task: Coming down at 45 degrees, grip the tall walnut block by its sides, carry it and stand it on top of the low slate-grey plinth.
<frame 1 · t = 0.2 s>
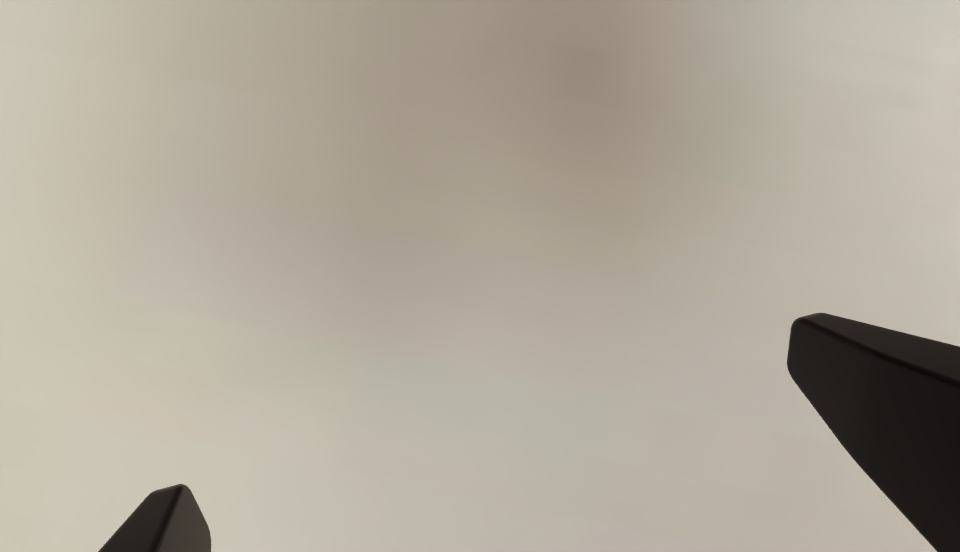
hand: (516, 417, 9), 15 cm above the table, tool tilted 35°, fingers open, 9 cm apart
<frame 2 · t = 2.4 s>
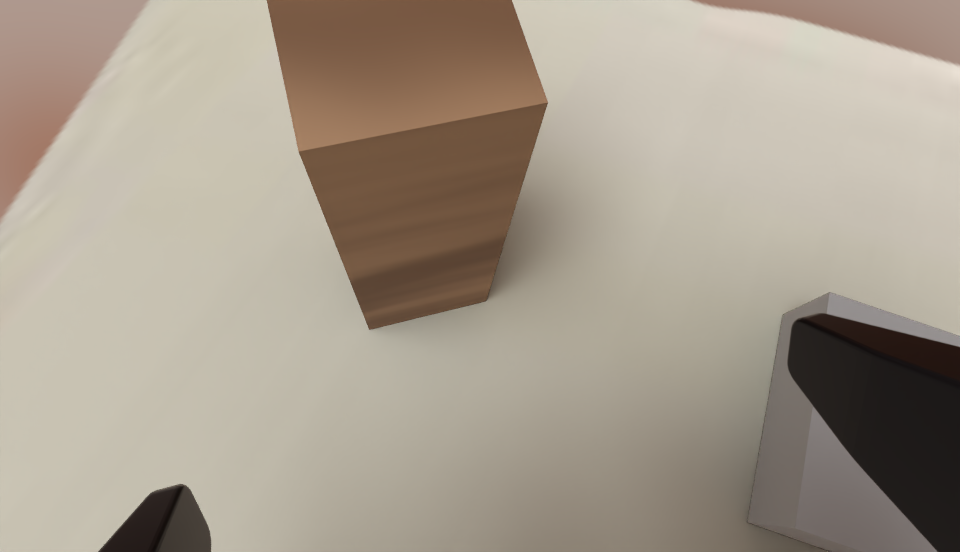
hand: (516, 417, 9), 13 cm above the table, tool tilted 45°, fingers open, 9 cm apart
plinth: (869, 448, 23), on the table
walnut block: (414, 260, 24), on the table
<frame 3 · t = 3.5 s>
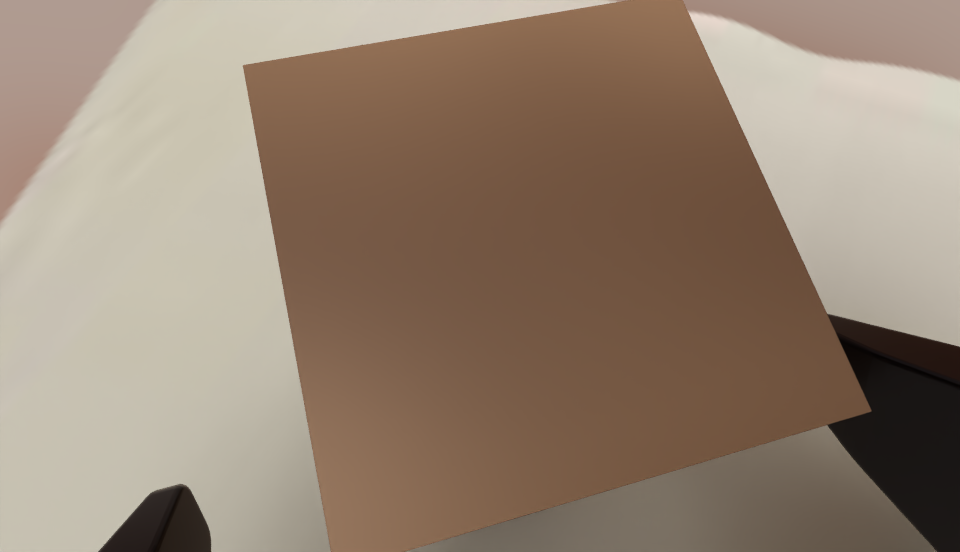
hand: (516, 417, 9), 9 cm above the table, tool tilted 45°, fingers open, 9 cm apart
walnut block: (464, 409, 18), on the table
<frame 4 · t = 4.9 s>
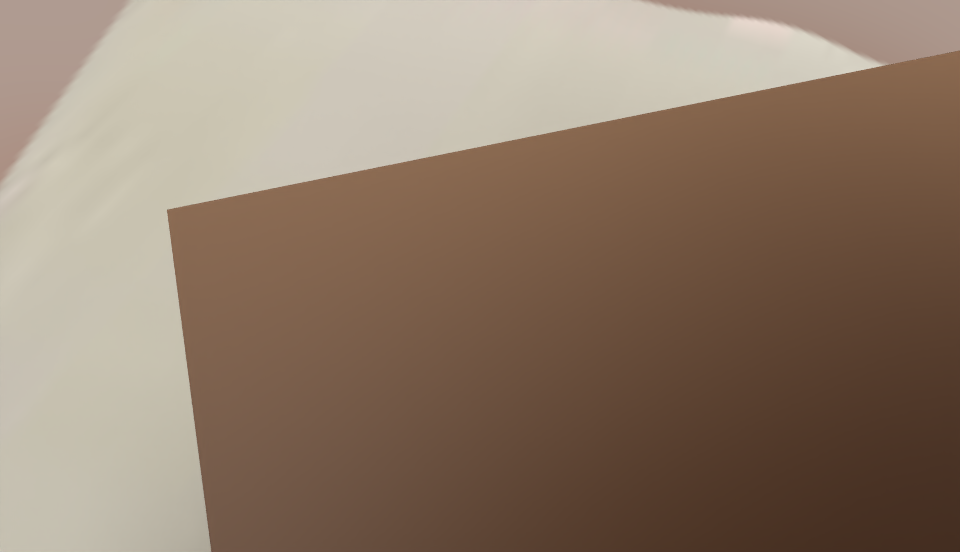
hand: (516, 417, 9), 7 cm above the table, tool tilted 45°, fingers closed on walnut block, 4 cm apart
walnut block: (495, 503, 15), on the table, touching gripper
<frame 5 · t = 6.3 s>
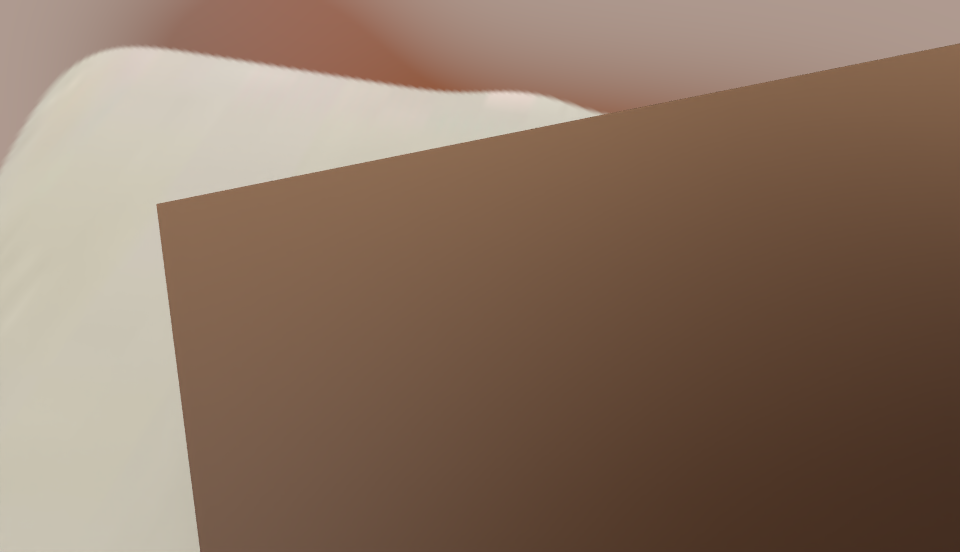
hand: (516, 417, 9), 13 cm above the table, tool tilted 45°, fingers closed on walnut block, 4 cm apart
walnut block: (493, 501, 15), point 7 cm above the table, touching gripper
when the fingers open (10 cm above the table, at t = 8.2 s): walnut block stays where it is, resting on plinth.
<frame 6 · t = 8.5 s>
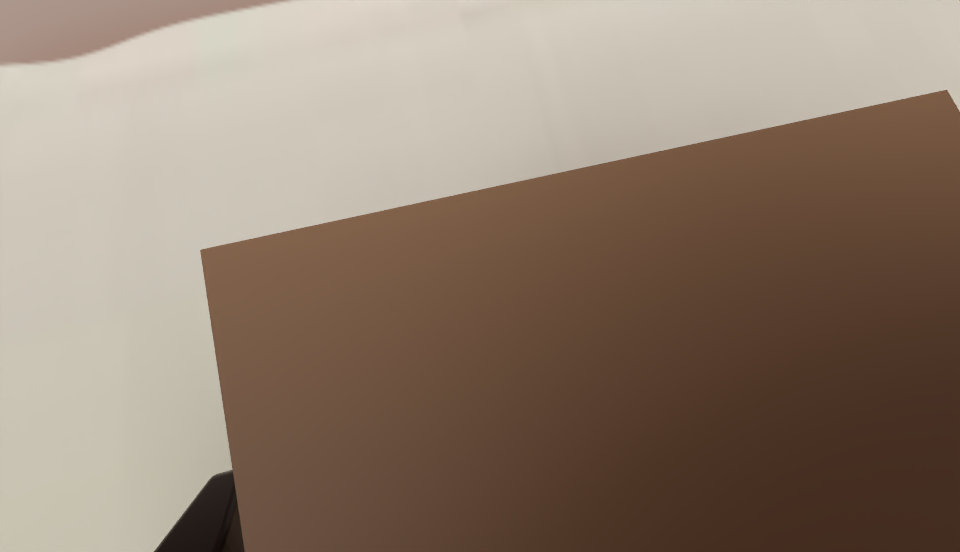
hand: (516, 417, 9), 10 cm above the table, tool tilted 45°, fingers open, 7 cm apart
walnut block: (493, 502, 15), point 3 cm above the table, touching plinth
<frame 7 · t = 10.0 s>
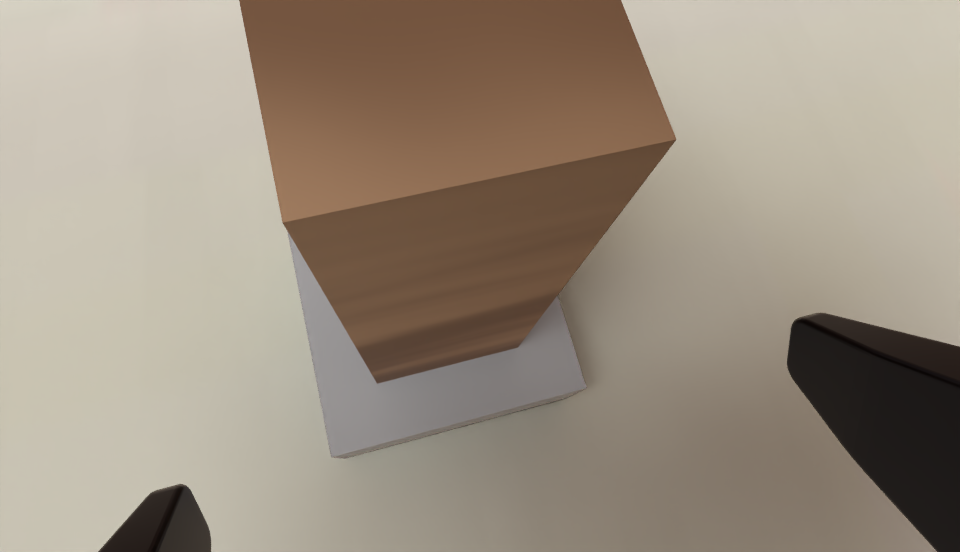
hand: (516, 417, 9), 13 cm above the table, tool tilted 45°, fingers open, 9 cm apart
plinth: (431, 319, 23), on the table
walnut block: (431, 297, 20), point 3 cm above the table, touching plinth
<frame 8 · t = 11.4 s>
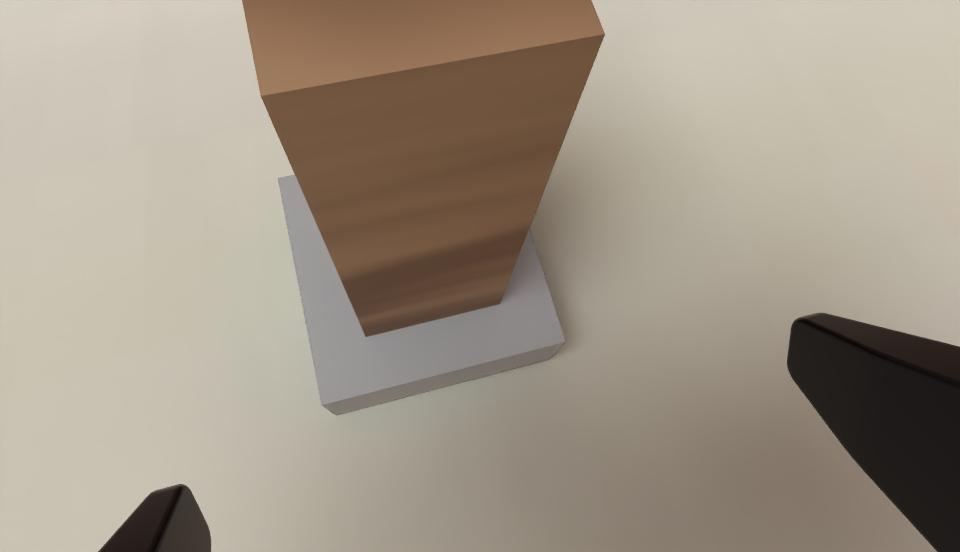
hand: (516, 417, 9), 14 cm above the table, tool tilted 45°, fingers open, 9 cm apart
plinth: (419, 285, 24), on the table
walnut block: (417, 257, 21), point 3 cm above the table, touching plinth
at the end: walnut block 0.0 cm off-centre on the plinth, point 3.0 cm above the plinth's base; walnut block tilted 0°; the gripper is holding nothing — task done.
